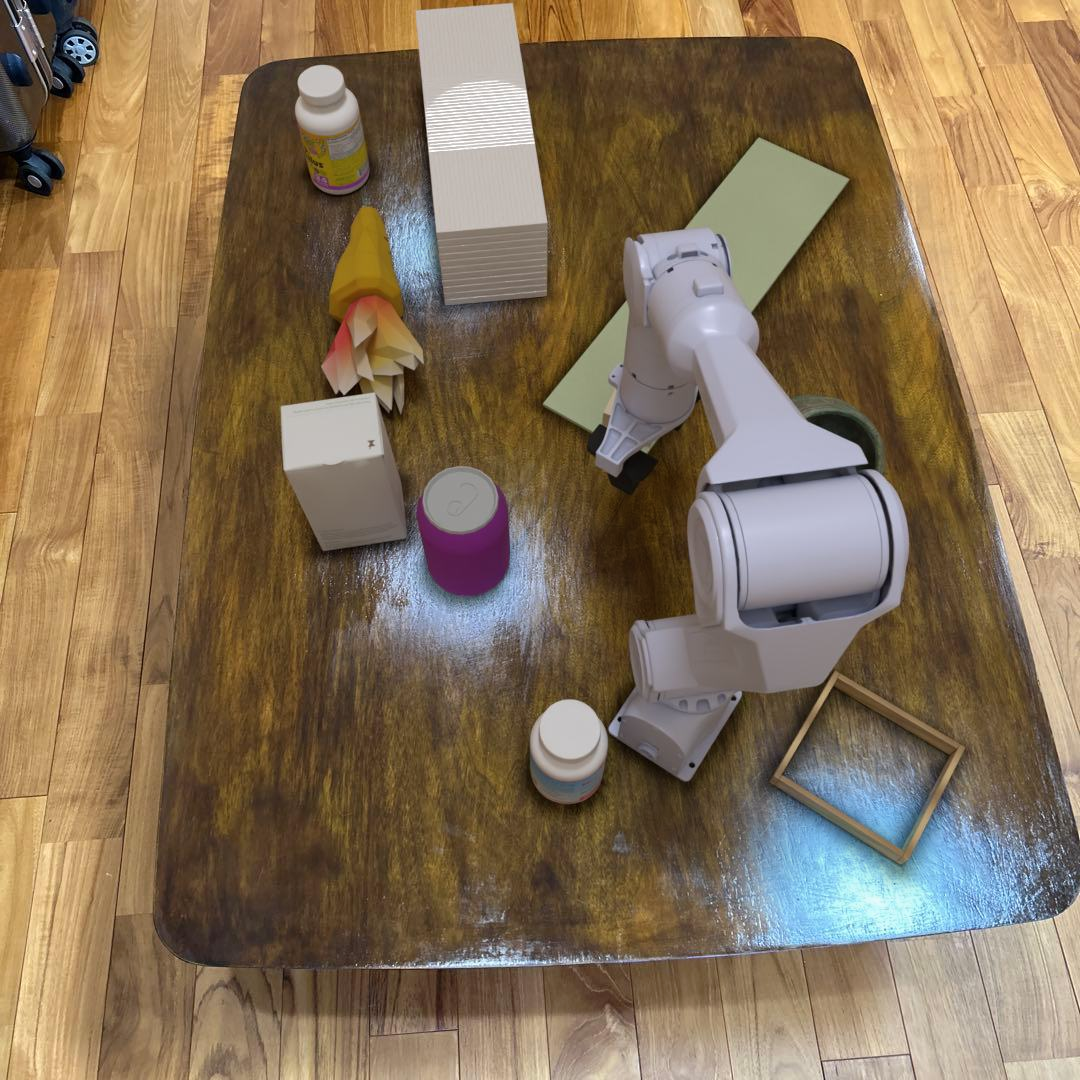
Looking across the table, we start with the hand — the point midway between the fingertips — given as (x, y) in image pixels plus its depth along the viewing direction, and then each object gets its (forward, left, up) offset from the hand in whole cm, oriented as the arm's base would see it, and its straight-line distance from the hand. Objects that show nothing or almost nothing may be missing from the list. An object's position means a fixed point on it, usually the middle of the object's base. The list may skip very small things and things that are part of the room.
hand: (646, 454), depth 92 cm
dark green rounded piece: (+10, -12, -11) cm, 19 cm away
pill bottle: (-24, -8, -11) cm, 27 cm away
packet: (+8, +6, -10) cm, 14 cm away
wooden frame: (-10, -28, -10) cm, 32 cm away
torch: (+4, +34, -11) cm, 35 cm away
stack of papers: (+25, +36, -11) cm, 45 cm away
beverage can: (-13, +10, -11) cm, 20 cm away
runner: (+27, +8, -10) cm, 30 cm away
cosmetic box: (-15, +21, -11) cm, 28 cm away
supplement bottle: (+18, +50, -11) cm, 54 cm away
